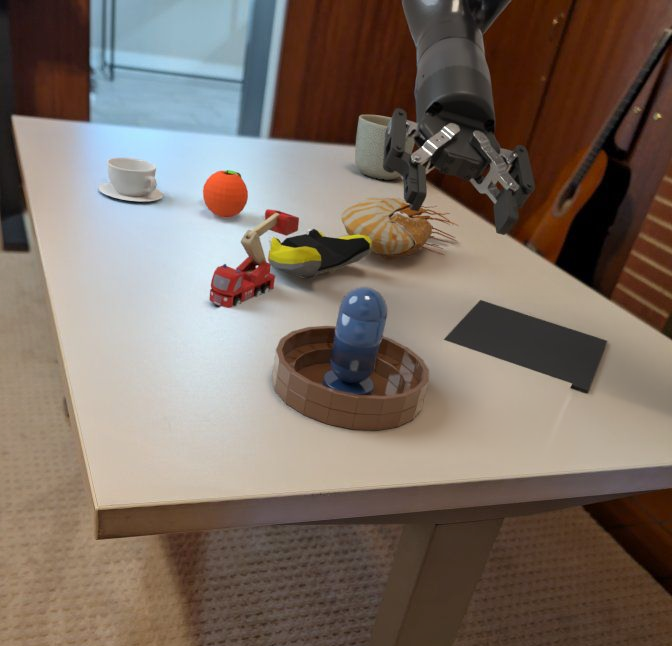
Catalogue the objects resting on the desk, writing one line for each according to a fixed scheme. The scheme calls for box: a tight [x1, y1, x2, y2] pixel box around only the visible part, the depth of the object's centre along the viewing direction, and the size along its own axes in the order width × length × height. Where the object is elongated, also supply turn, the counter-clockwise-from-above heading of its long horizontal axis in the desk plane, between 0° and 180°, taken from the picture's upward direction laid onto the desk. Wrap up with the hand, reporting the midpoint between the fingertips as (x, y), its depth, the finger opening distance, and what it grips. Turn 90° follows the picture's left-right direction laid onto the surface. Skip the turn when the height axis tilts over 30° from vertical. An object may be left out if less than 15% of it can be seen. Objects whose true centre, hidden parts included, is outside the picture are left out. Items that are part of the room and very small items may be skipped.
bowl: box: [271, 325, 430, 431], centre depth 75 cm, size 15×15×4 cm
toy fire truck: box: [209, 208, 300, 309], centre depth 91 cm, size 3×14×10 cm, turn 151°
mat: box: [443, 299, 608, 394], centre depth 96 cm, size 18×18×1 cm
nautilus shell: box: [340, 196, 459, 261], centre depth 116 cm, size 8×22×15 cm
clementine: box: [202, 169, 249, 219], centre depth 117 cm, size 8×7×7 cm
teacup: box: [97, 157, 164, 202], centre depth 119 cm, size 10×10×5 cm
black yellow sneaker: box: [267, 228, 372, 280], centre depth 103 cm, size 15×6×10 cm
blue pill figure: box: [322, 286, 389, 396], centre depth 73 cm, size 5×5×11 cm
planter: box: [354, 114, 416, 181], centre depth 158 cm, size 12×12×11 cm
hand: (462, 216), depth 67 cm, fingers open, 8 cm apart
